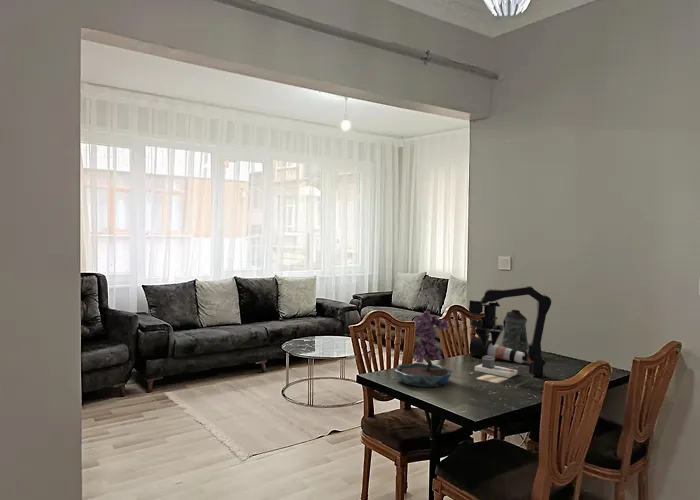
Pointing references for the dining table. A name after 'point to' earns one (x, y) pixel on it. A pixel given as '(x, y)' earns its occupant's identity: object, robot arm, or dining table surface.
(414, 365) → the bonsai tree
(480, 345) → the striped cylinder
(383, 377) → the dining table surface
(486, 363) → the block
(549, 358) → the dining table surface
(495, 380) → the birch pad
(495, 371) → the switch housing
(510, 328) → the beer stein
